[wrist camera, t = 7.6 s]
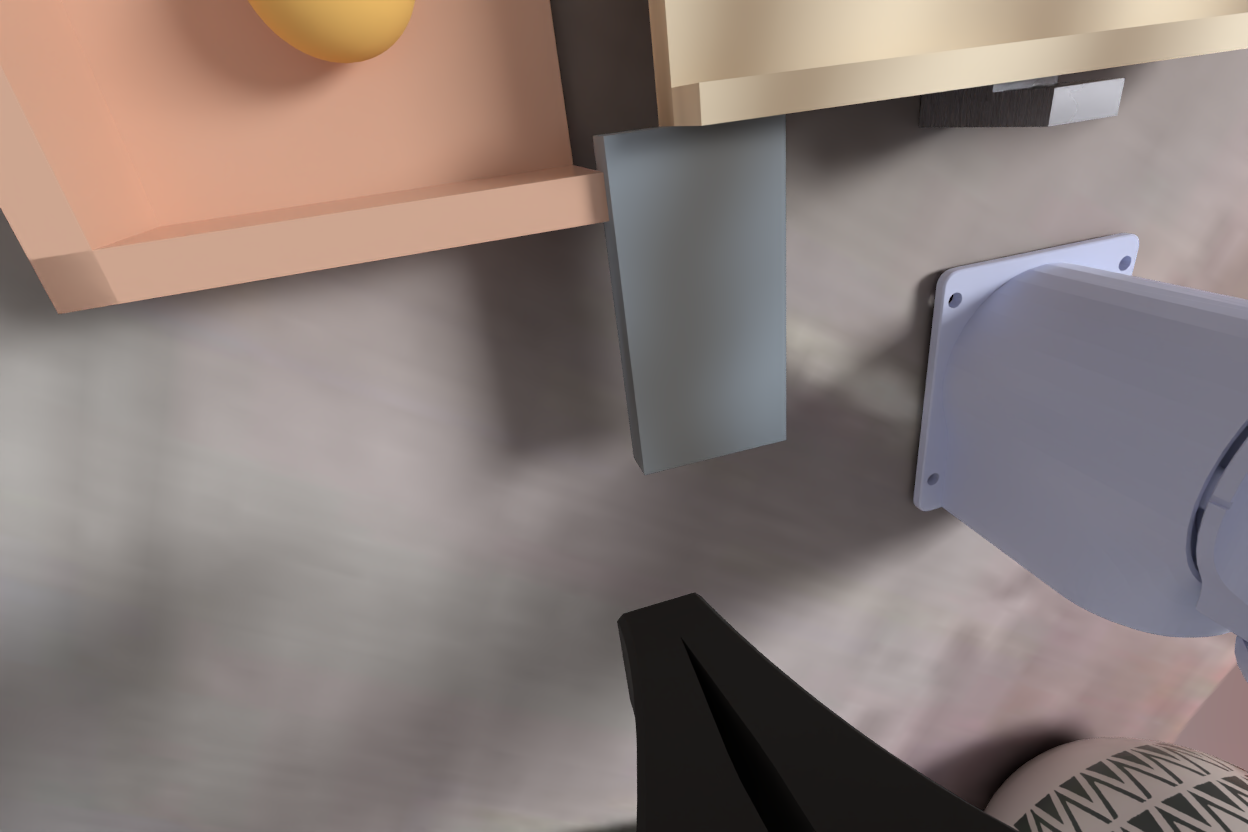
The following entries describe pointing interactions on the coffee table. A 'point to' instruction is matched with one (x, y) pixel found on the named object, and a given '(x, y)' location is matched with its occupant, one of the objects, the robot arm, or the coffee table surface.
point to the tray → (272, 143)
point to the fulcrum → (1022, 103)
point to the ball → (337, 26)
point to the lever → (756, 170)
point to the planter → (1123, 790)
